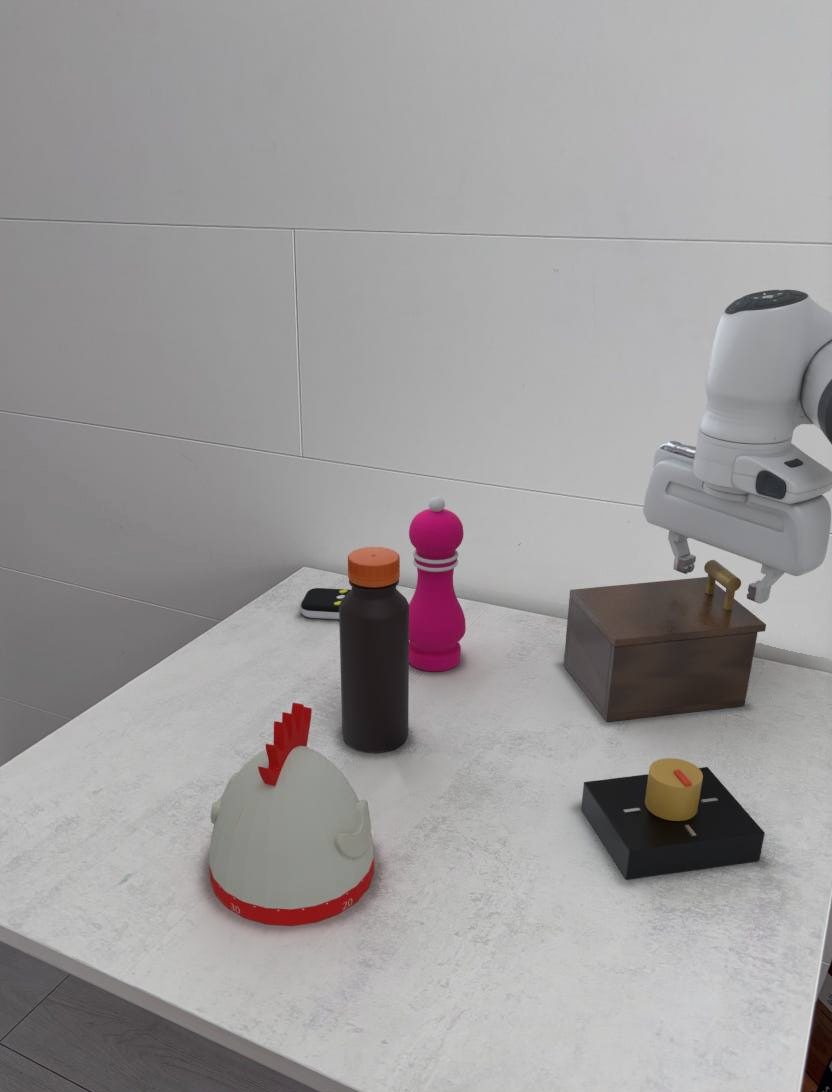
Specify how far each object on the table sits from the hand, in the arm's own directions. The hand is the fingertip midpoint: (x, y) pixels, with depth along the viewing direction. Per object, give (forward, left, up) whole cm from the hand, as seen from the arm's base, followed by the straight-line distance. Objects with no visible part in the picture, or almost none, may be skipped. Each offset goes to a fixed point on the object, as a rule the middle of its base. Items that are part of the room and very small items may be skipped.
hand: (719, 585), depth 110 cm
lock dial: (+16, +25, -8) cm, 31 cm away
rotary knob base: (+16, +25, -12) cm, 32 cm away
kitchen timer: (+49, +23, -12) cm, 56 cm away
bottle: (+38, +4, -12) cm, 40 cm away
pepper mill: (+28, -11, -12) cm, 33 cm away
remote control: (+35, -26, -12) cm, 45 cm away
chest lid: (+6, 0, -3) cm, 7 cm away
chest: (+6, 0, -12) cm, 13 cm away
